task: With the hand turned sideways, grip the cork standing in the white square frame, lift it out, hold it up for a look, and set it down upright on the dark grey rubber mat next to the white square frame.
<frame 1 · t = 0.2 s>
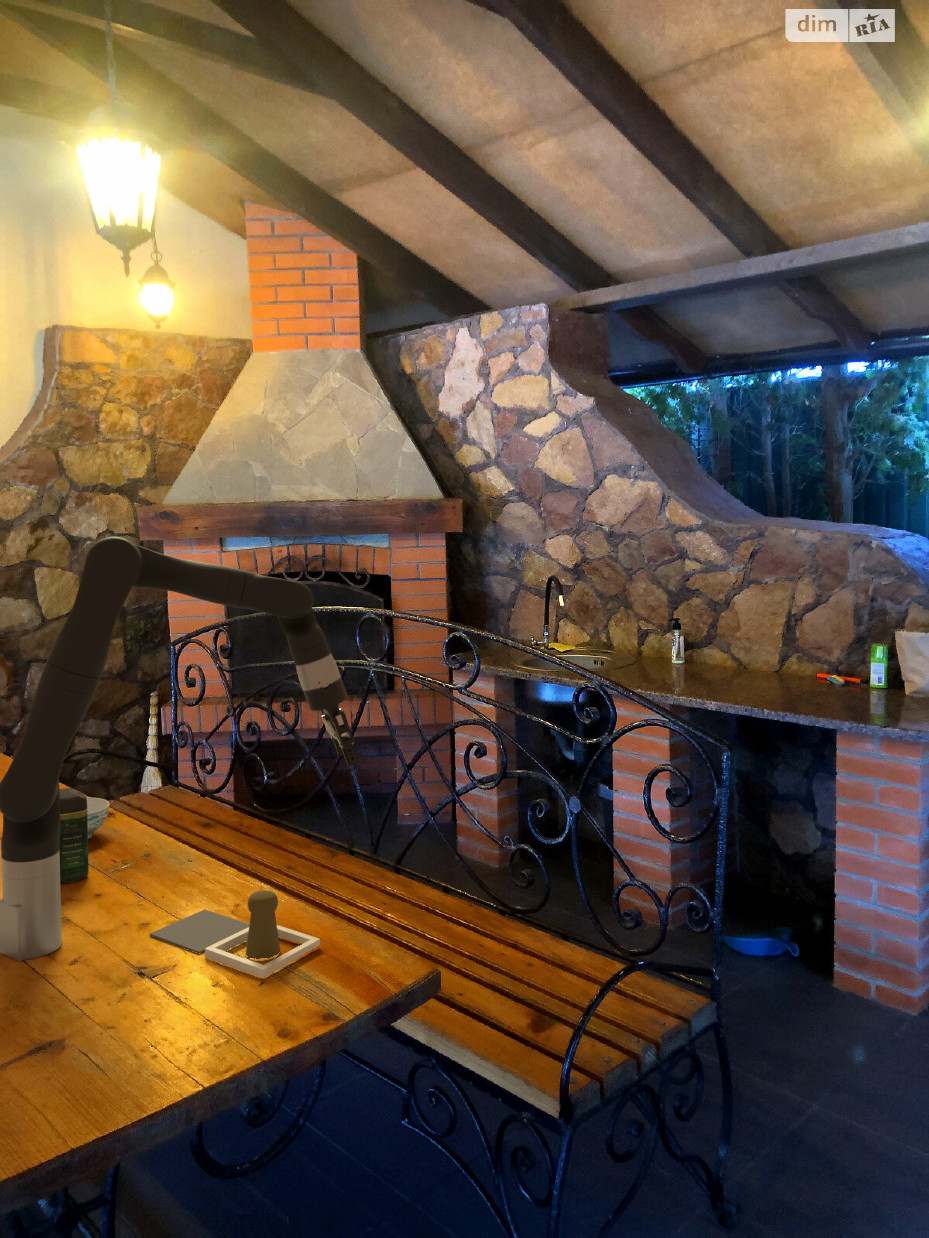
hand: (348, 759, 177), 31 cm above the table, tool tilted 20°, fingers open, 8 cm apart
white square frame: (263, 953, 162), on the table
mat: (202, 931, 170), on the table
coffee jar: (68, 876, 196), on the table
cork: (263, 954, 162), resting in white square frame
chinaware: (76, 838, 220), on the table
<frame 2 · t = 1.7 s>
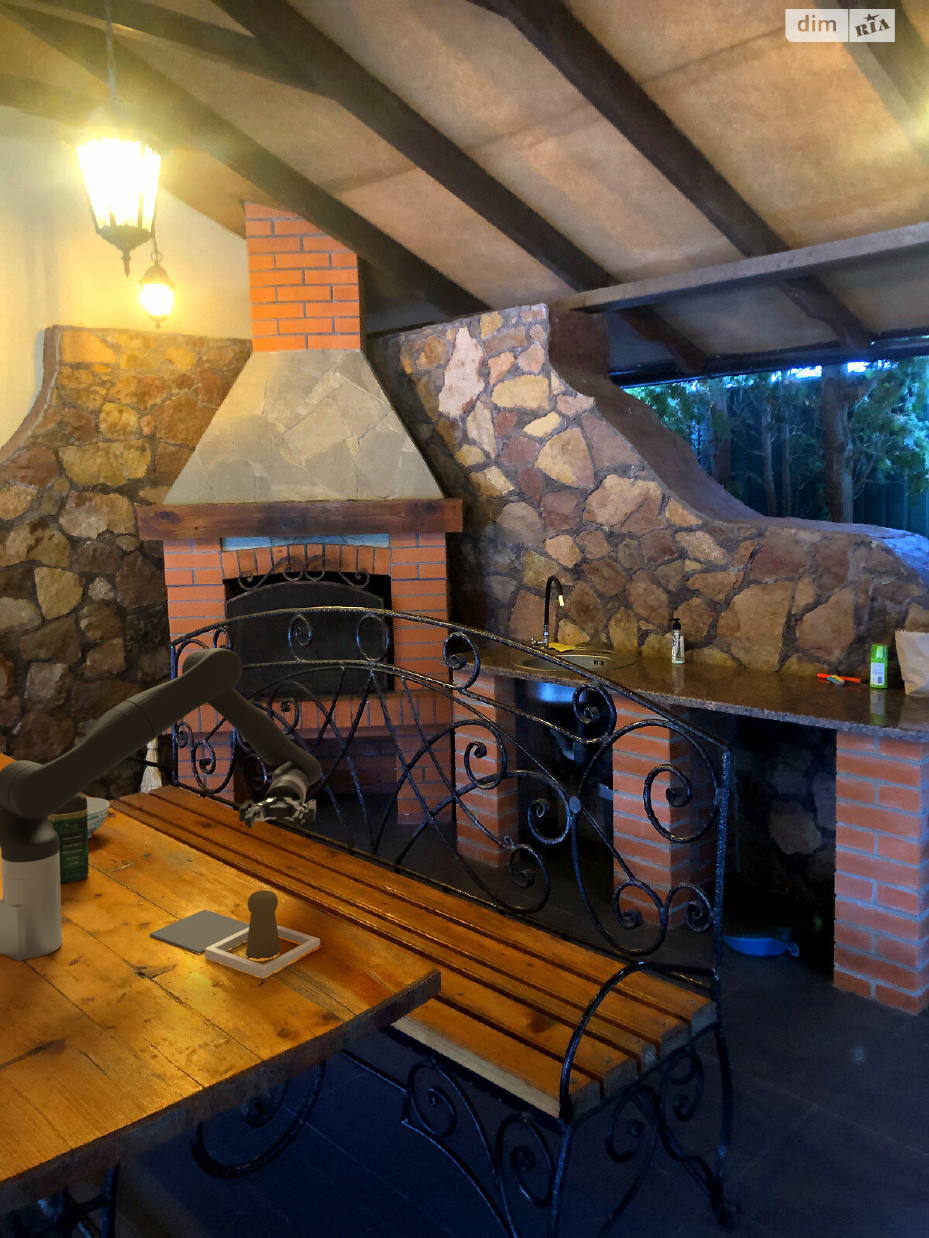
hand: (272, 822, 171), 20 cm above the table, tool horizontal, fingers open, 8 cm apart
nothing on the table moved.
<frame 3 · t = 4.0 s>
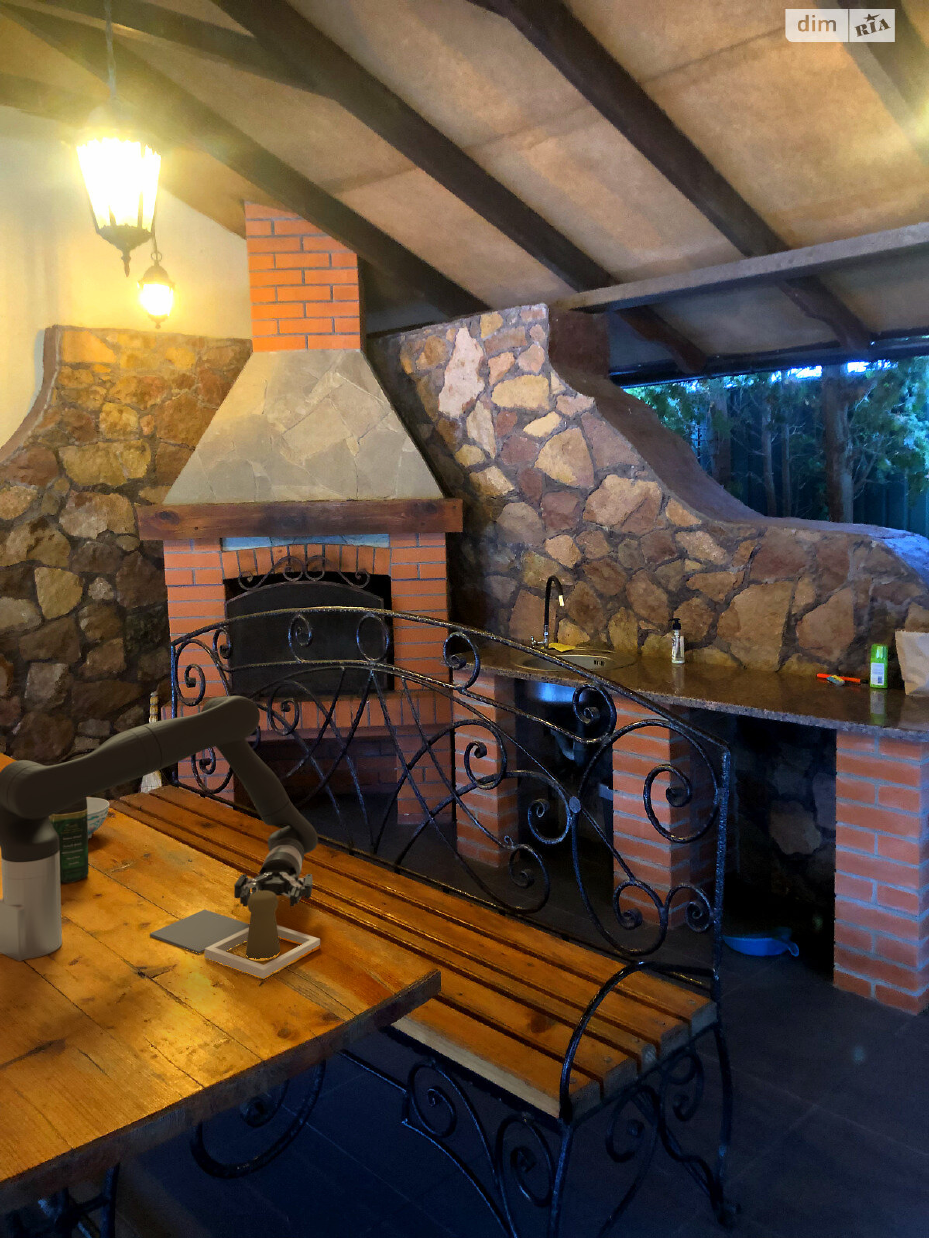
hand: (268, 901, 168), 7 cm above the table, tool horizontal, fingers open, 8 cm apart
nothing on the table moved.
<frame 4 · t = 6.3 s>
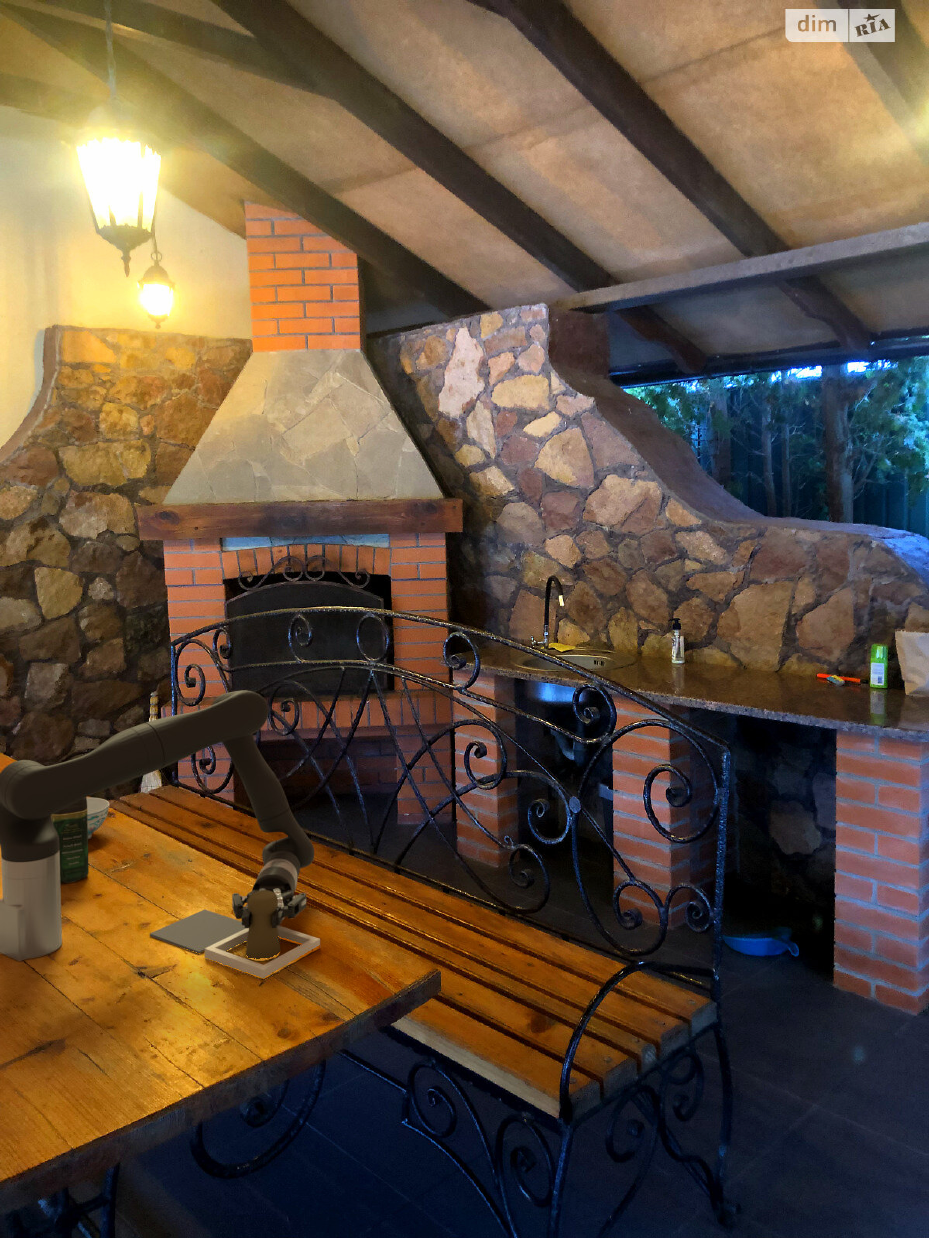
hand: (260, 922, 159), 7 cm above the table, tool horizontal, fingers closed on cork, 4 cm apart
cork: (263, 954, 162), resting in white square frame, touching gripper
everything else where it was.
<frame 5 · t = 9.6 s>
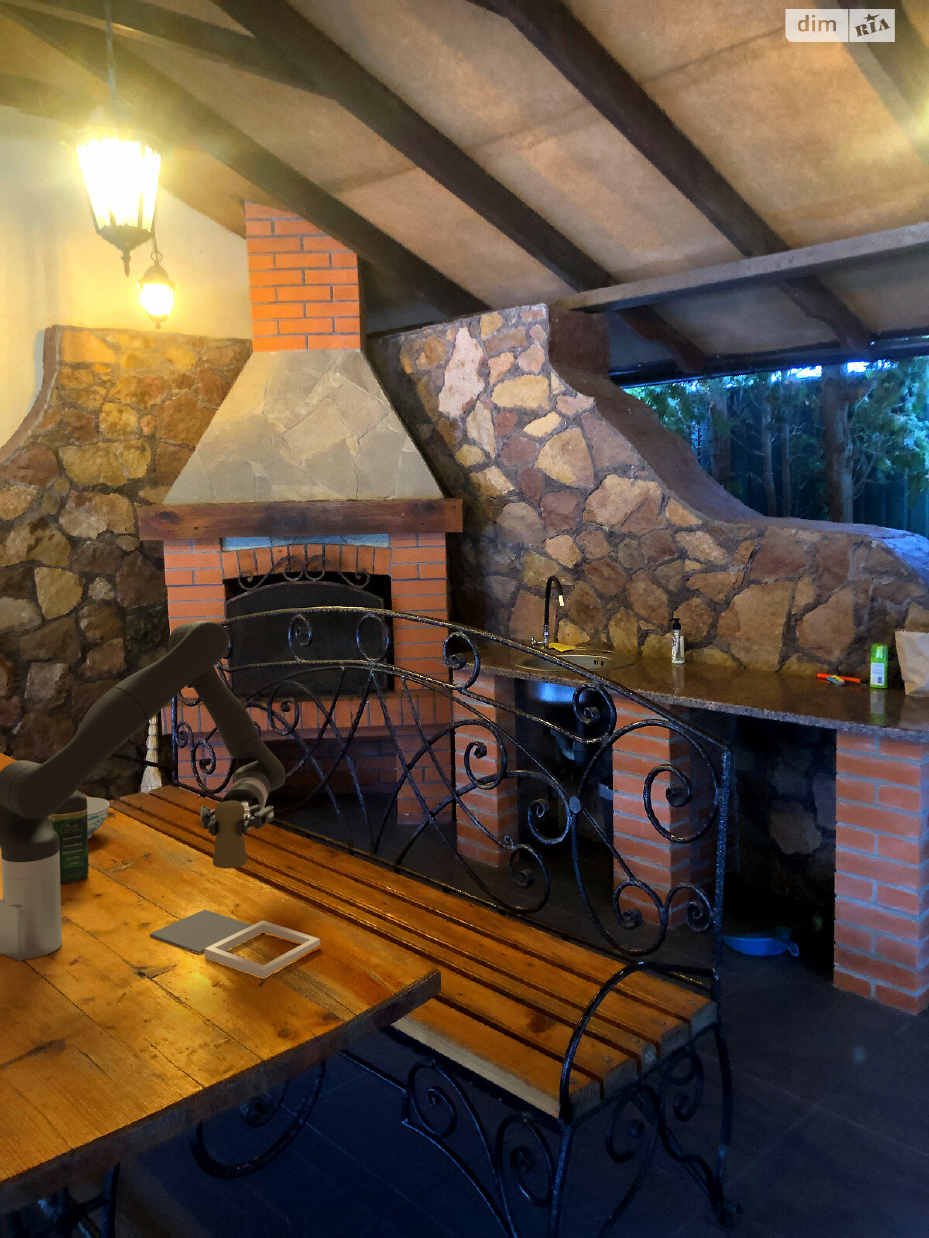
hand: (226, 830, 161), 22 cm above the table, tool horizontal, fingers closed on cork, 4 cm apart
cork: (230, 863, 165), point 15 cm above the table, touching gripper
everything else where it was.
when the fingers open (8 cm above the table, at t = 13.3 s): cork stays where it is, resting on mat.
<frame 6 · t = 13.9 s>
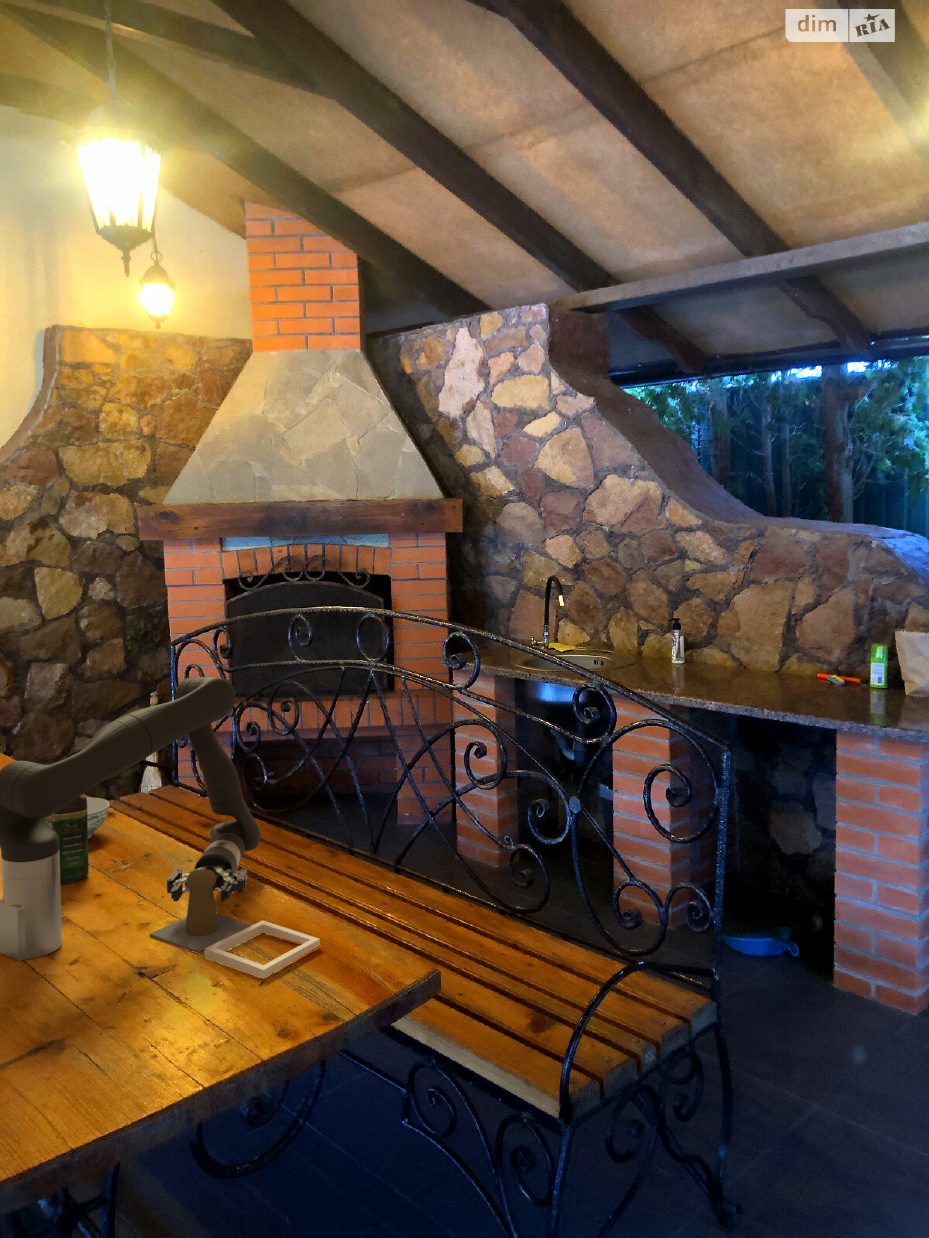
hand: (199, 896, 168), 8 cm above the table, tool horizontal, fingers open, 8 cm apart
cork: (201, 929, 170), resting on mat
everything else where it was.
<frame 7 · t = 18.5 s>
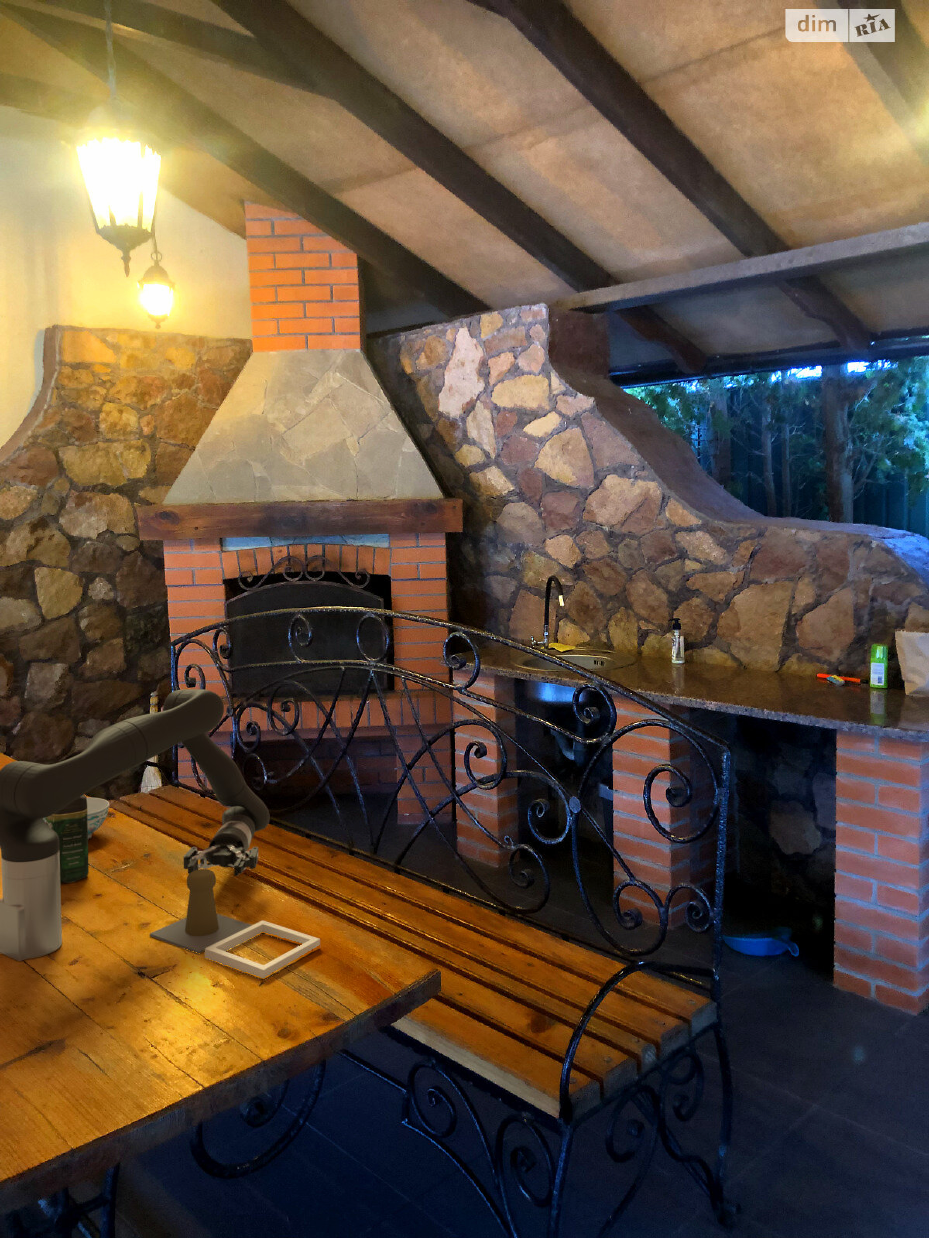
hand: (213, 871, 180), 8 cm above the table, tool horizontal, fingers open, 8 cm apart
nothing on the table moved.
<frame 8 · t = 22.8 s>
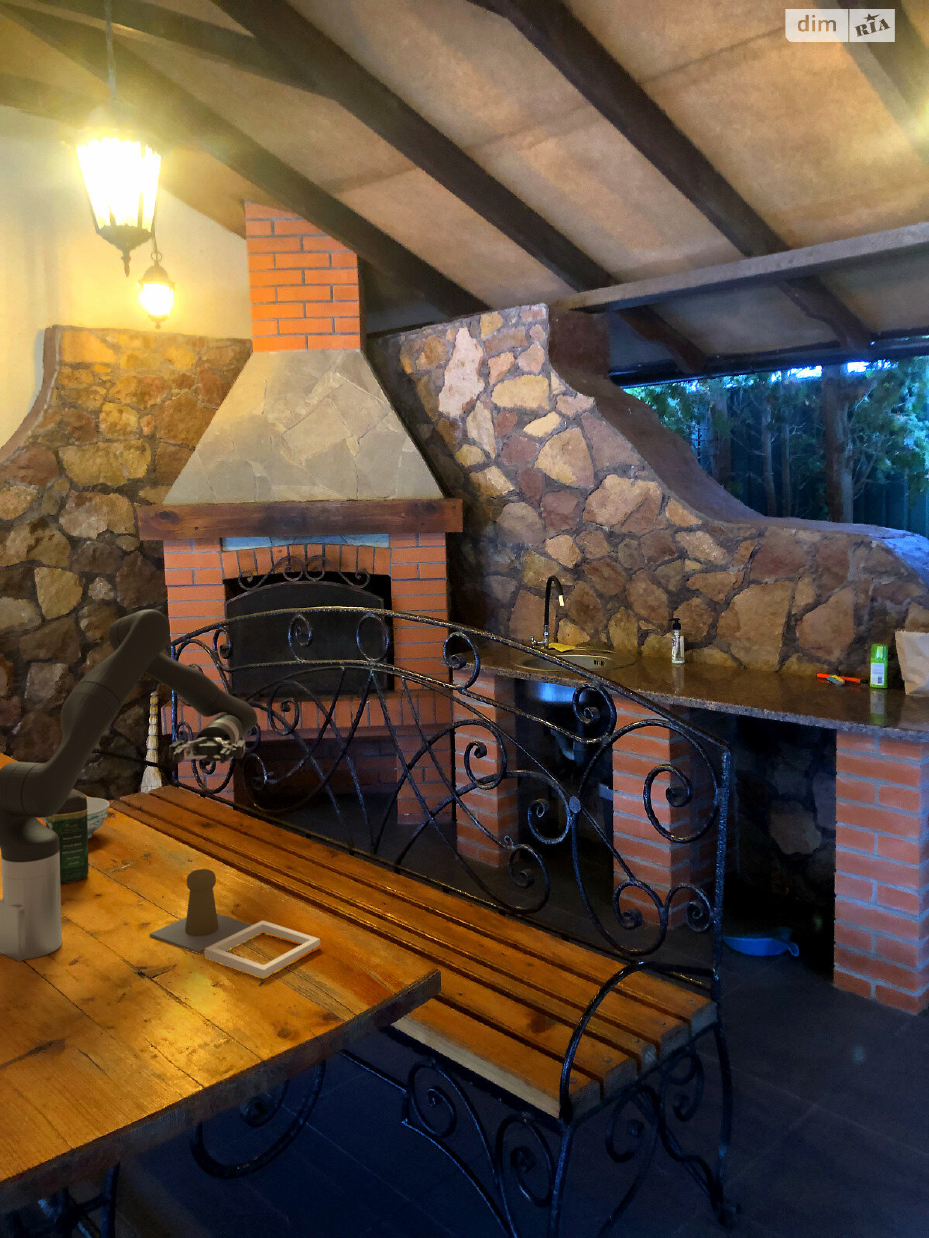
hand: (199, 758, 178), 30 cm above the table, tool horizontal, fingers open, 8 cm apart
nothing on the table moved.
at the end: cork inside the target area on the mat (0.1 cm from its centre), point 0.3 cm above the mat's base; cork tilted 0°; the gripper is holding nothing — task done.
